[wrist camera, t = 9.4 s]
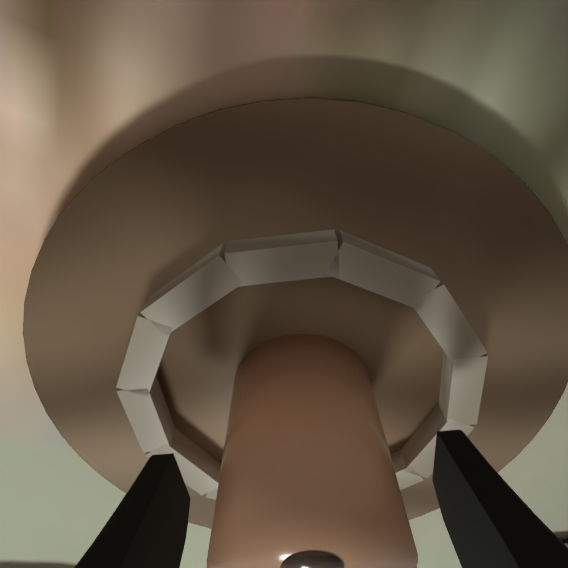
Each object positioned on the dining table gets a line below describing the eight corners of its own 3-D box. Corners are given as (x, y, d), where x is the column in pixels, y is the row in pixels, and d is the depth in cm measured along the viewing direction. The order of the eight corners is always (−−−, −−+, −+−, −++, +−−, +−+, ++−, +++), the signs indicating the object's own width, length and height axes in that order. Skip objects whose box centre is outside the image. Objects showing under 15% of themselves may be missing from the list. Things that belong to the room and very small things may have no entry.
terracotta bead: (370, 429, 15) (414, 613, 10) (245, 440, 15) (227, 624, 10) (368, 326, 12) (424, 499, 8) (221, 341, 13) (183, 517, 8)
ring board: (516, 505, 18) (536, 542, 17) (131, 534, 19) (119, 571, 18) (641, 50, 9) (703, 48, 8) (-78, 145, 10) (-133, 157, 9)
